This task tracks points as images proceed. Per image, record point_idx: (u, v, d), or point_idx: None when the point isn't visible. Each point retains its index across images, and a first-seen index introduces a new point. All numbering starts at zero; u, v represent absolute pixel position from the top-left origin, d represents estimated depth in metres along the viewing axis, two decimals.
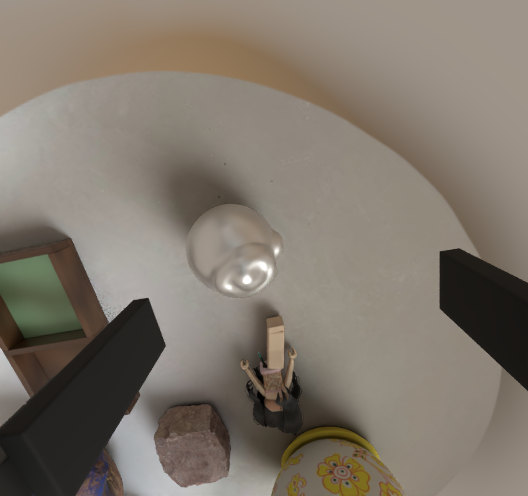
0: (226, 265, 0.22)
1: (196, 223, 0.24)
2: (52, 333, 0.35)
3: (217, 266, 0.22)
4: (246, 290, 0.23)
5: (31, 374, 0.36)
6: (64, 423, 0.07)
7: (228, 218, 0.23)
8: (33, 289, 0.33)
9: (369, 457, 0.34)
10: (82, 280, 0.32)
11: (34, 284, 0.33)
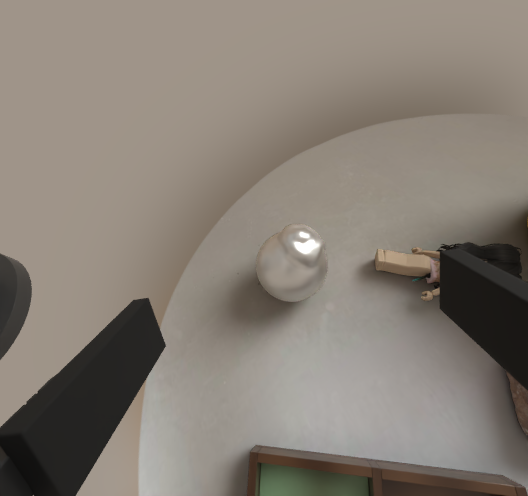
0: (285, 244, 0.29)
1: (260, 278, 0.32)
2: None
3: (287, 253, 0.29)
4: (311, 237, 0.29)
5: None
6: (64, 423, 0.07)
7: (261, 250, 0.32)
8: None
9: None
10: (301, 452, 0.28)
11: None
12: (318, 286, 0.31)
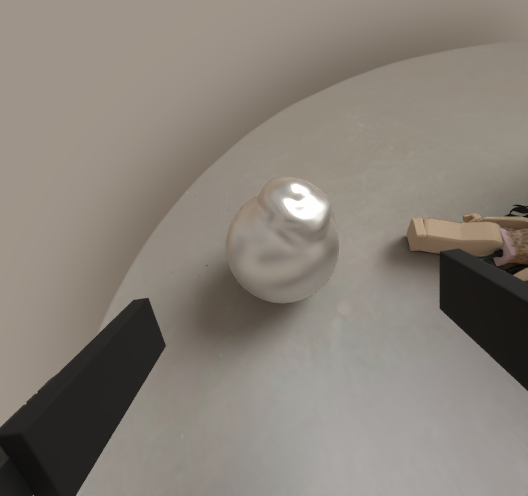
0: (268, 204, 0.17)
1: (232, 266, 0.20)
2: None
3: (271, 220, 0.17)
4: (311, 193, 0.17)
5: None
6: (64, 423, 0.07)
7: (232, 222, 0.20)
8: None
9: None
10: None
11: None
12: (326, 276, 0.19)
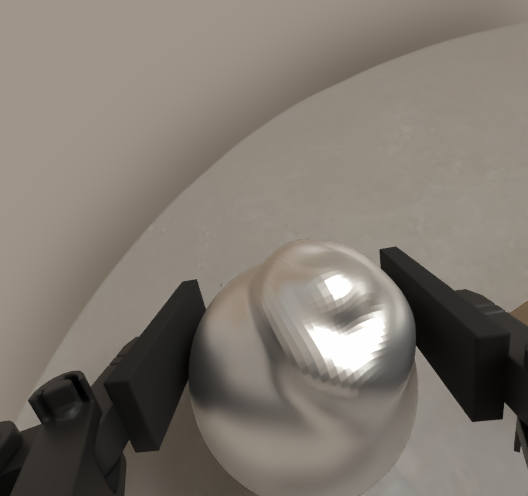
0: (273, 332, 0.07)
1: (197, 424, 0.10)
2: None
3: (280, 370, 0.07)
4: (375, 298, 0.07)
5: None
6: (152, 378, 0.08)
7: (199, 327, 0.10)
8: None
9: None
10: None
11: None
12: None
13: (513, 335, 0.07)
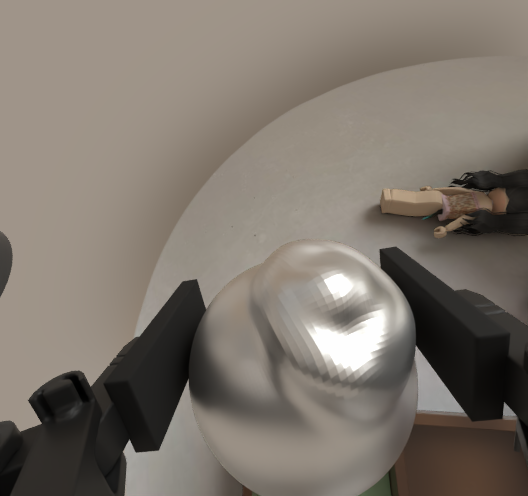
0: (273, 331, 0.07)
1: (198, 424, 0.10)
2: None
3: (280, 369, 0.07)
4: (375, 298, 0.07)
5: None
6: (152, 379, 0.08)
7: (199, 327, 0.10)
8: None
9: None
10: None
11: None
12: None
13: (513, 335, 0.07)
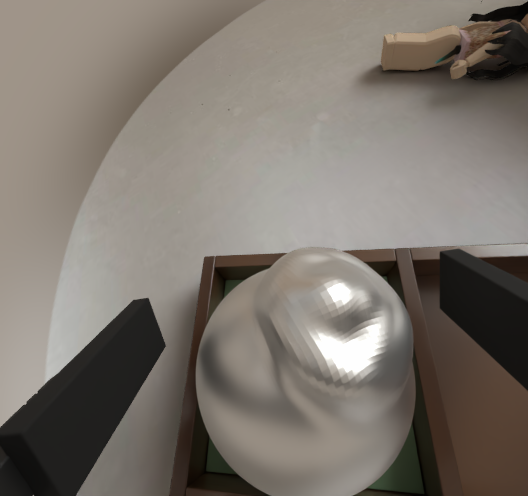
0: (279, 337, 0.07)
1: (205, 425, 0.10)
2: None
3: (286, 373, 0.07)
4: (375, 305, 0.08)
5: None
6: (64, 423, 0.07)
7: (206, 331, 0.11)
8: None
9: None
10: None
11: None
12: None
13: None
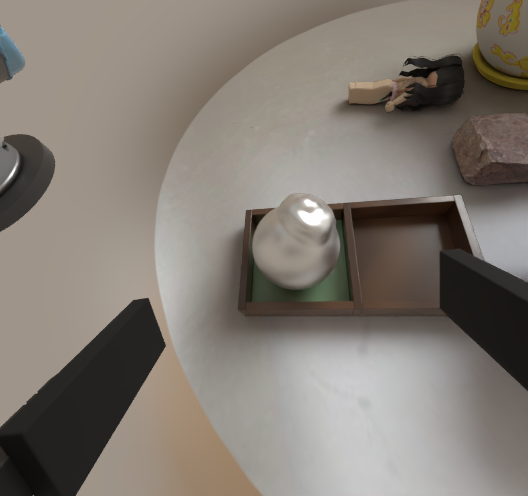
0: (288, 215, 0.23)
1: (258, 261, 0.26)
2: (346, 269, 0.30)
3: (289, 227, 0.23)
4: (319, 206, 0.24)
5: None
6: (64, 423, 0.07)
7: (257, 227, 0.26)
8: None
9: None
10: None
11: None
12: (330, 268, 0.25)
13: None
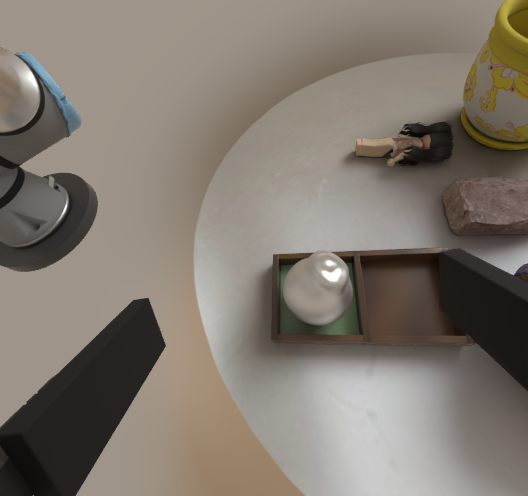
0: (314, 273, 0.31)
1: (289, 304, 0.33)
2: (356, 305, 0.38)
3: (316, 282, 0.31)
4: (338, 266, 0.31)
5: None
6: (64, 423, 0.07)
7: (288, 277, 0.34)
8: None
9: None
10: None
11: None
12: (345, 311, 0.33)
13: None
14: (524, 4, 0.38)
